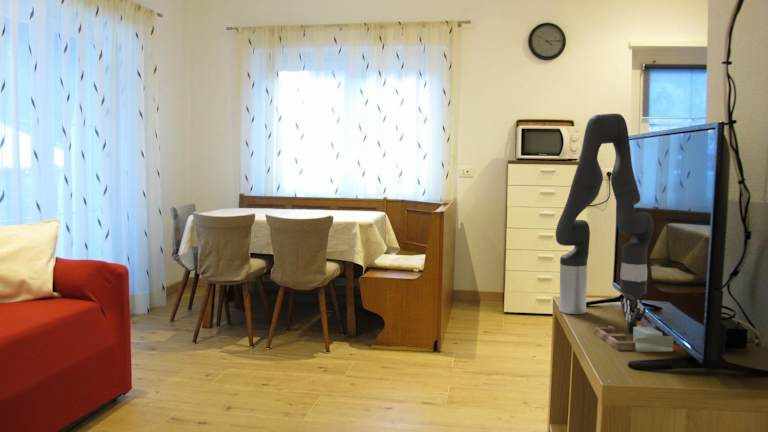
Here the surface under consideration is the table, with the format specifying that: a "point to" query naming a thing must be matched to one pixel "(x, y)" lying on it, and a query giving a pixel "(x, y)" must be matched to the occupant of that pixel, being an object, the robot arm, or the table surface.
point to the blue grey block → (645, 332)
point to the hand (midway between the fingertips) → (631, 333)
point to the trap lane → (640, 342)
